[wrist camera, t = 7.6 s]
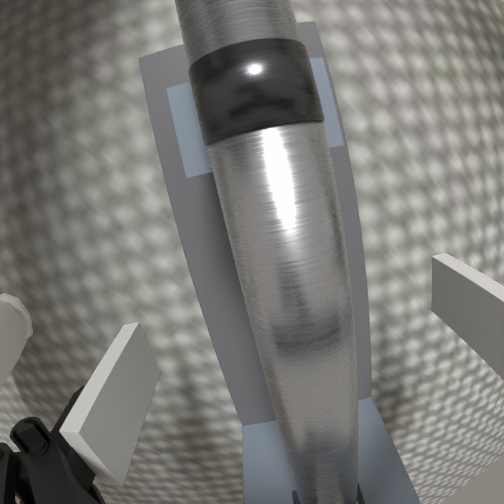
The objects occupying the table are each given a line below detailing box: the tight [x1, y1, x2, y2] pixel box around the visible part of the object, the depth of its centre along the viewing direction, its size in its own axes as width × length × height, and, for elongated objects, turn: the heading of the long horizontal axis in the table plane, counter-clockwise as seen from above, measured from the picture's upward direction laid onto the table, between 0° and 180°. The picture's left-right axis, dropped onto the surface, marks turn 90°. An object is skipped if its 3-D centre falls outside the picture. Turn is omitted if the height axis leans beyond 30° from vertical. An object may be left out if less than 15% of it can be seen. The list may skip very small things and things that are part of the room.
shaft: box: [175, 0, 359, 504], centre depth 10 cm, size 26×3×3 cm, turn 13°
